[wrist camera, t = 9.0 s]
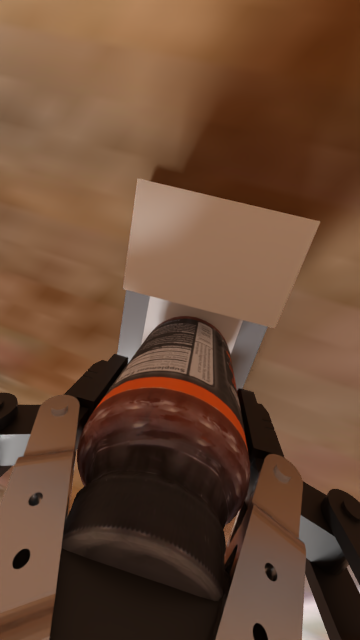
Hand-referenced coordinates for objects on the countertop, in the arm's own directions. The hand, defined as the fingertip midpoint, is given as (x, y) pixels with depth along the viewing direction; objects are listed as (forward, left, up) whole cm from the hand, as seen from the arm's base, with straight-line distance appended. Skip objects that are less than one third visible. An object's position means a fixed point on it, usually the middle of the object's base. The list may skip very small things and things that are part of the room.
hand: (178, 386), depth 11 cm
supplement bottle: (0, 0, -4) cm, 4 cm away
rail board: (0, 0, -7) cm, 7 cm away
